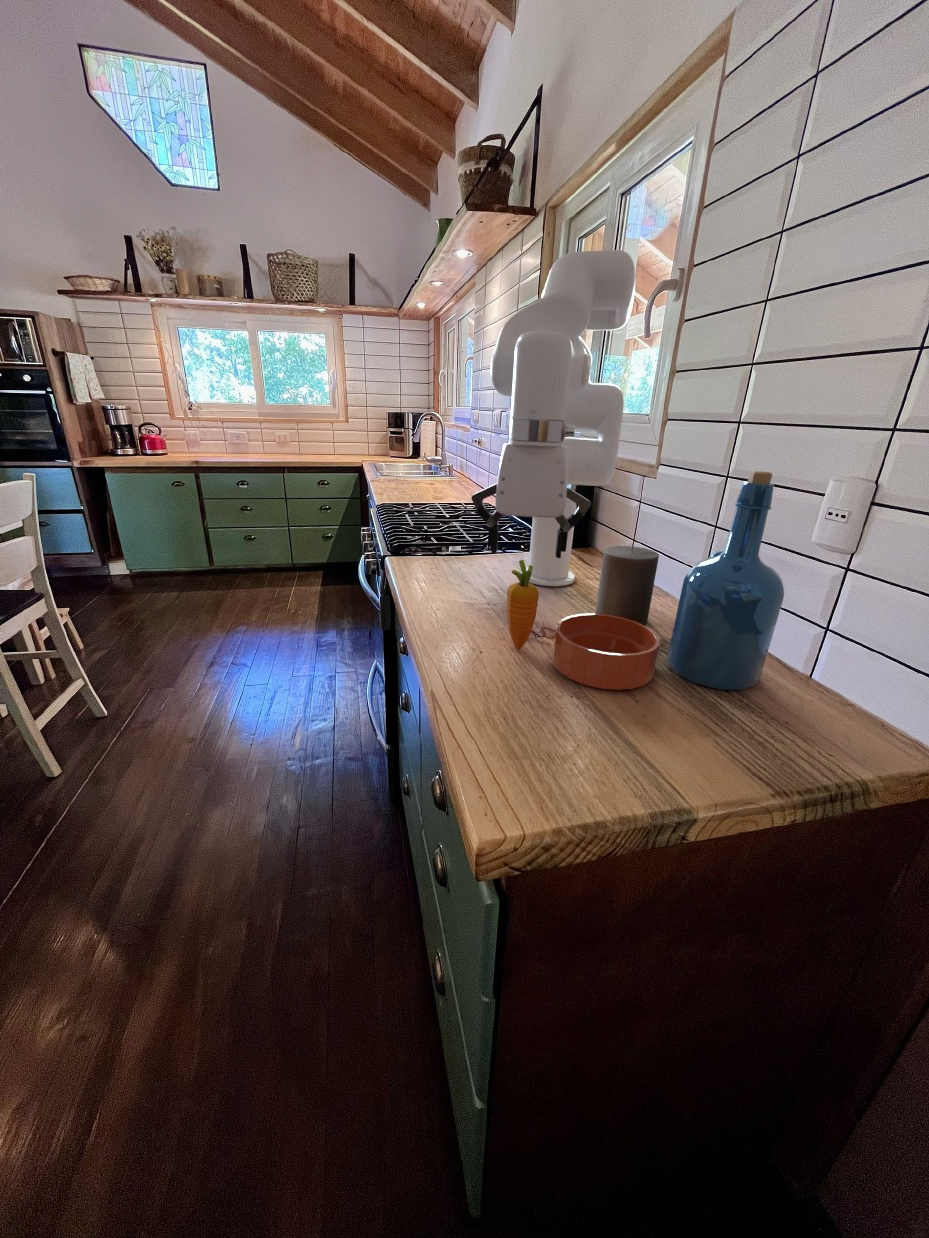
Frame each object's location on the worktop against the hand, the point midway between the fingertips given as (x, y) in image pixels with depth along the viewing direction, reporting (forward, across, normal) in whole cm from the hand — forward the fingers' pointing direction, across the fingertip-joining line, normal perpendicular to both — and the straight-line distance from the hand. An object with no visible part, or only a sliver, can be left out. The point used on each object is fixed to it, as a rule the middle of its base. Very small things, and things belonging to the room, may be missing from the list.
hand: (525, 553), depth 76 cm
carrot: (+17, 0, -1) cm, 17 cm away
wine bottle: (+16, -30, +1) cm, 34 cm away
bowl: (+16, -13, +3) cm, 21 cm away
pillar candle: (+16, -19, -17) cm, 30 cm away
